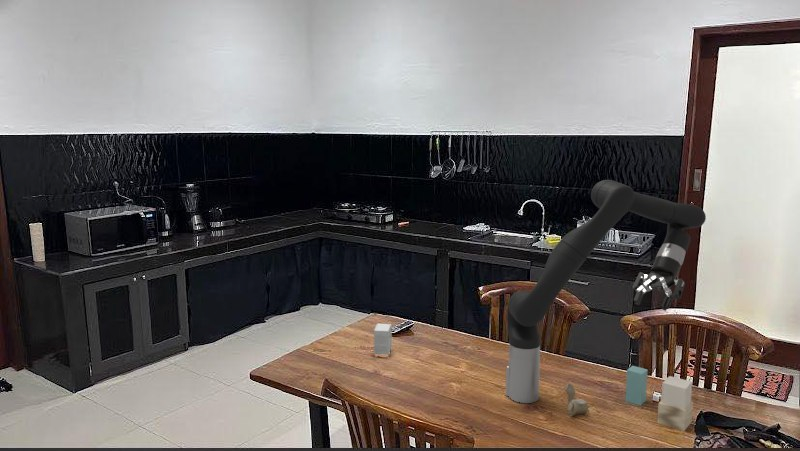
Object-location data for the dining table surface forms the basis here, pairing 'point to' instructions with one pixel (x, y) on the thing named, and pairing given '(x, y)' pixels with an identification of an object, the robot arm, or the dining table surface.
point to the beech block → (675, 416)
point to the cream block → (676, 392)
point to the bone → (575, 402)
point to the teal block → (636, 385)
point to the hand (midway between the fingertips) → (649, 306)
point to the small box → (382, 338)
